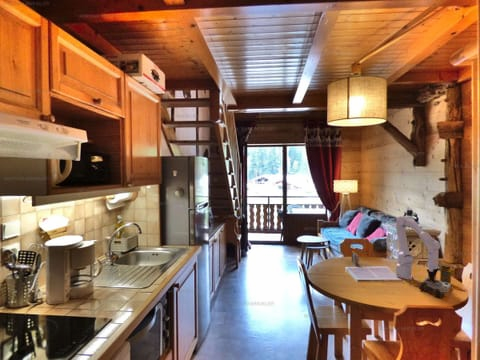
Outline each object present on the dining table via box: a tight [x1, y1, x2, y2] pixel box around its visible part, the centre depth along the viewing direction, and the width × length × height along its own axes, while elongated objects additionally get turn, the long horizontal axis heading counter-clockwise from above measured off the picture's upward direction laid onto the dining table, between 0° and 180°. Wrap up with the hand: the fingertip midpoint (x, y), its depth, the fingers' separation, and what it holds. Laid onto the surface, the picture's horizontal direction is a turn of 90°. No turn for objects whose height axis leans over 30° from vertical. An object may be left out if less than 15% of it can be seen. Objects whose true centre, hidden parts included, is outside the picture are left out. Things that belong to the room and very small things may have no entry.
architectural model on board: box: [351, 249, 360, 266], centre depth 254 cm, size 11×3×10 cm, turn 174°
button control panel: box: [422, 277, 451, 294], centre depth 201 cm, size 14×12×4 cm
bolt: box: [418, 281, 446, 299], centre depth 190 cm, size 6×5×15 cm
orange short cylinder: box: [427, 273, 437, 283], centre depth 202 cm, size 4×4×6 cm
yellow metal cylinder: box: [439, 264, 452, 285], centre depth 209 cm, size 7×8×12 cm
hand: (432, 279), depth 202 cm, fingers closed on orange short cylinder, 4 cm apart
